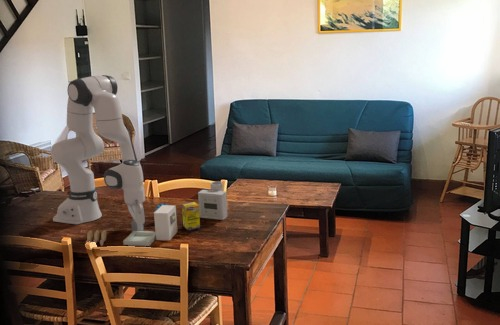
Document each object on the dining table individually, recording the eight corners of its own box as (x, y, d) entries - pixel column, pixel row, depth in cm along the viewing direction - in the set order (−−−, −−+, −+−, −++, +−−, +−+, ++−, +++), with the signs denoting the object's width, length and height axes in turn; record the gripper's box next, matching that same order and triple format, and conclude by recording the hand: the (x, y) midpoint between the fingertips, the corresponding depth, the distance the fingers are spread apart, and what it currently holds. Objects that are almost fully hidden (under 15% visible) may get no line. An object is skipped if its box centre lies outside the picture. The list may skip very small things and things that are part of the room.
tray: (123, 245, 216) (123, 240, 215) (134, 235, 226) (133, 230, 226) (148, 246, 214) (148, 241, 213) (158, 236, 224) (158, 231, 224)
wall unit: (154, 239, 220) (152, 212, 217) (163, 231, 230) (161, 205, 227) (171, 240, 219) (169, 213, 216) (179, 231, 228) (177, 205, 225)
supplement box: (188, 231, 228) (186, 207, 226) (183, 227, 234) (181, 203, 231) (200, 228, 231) (199, 205, 228) (195, 224, 236) (194, 201, 234)
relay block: (131, 232, 229) (130, 220, 228) (135, 229, 233) (133, 217, 232) (140, 232, 229) (139, 220, 227) (143, 229, 233) (142, 217, 231)
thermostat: (199, 217, 245) (197, 186, 241) (212, 207, 258) (211, 178, 254) (223, 220, 240) (221, 188, 237) (235, 210, 253) (234, 180, 249)
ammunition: (89, 229, 222) (84, 236, 215) (106, 228, 223) (102, 235, 215) (90, 239, 223) (85, 247, 216) (107, 239, 224) (103, 246, 216)
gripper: (146, 202, 219) (149, 233, 222) (137, 190, 237) (140, 218, 241) (131, 205, 217) (134, 236, 220) (123, 192, 235) (126, 221, 238)
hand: (137, 227), depth 230 cm, fingers closed on relay block, 5 cm apart
